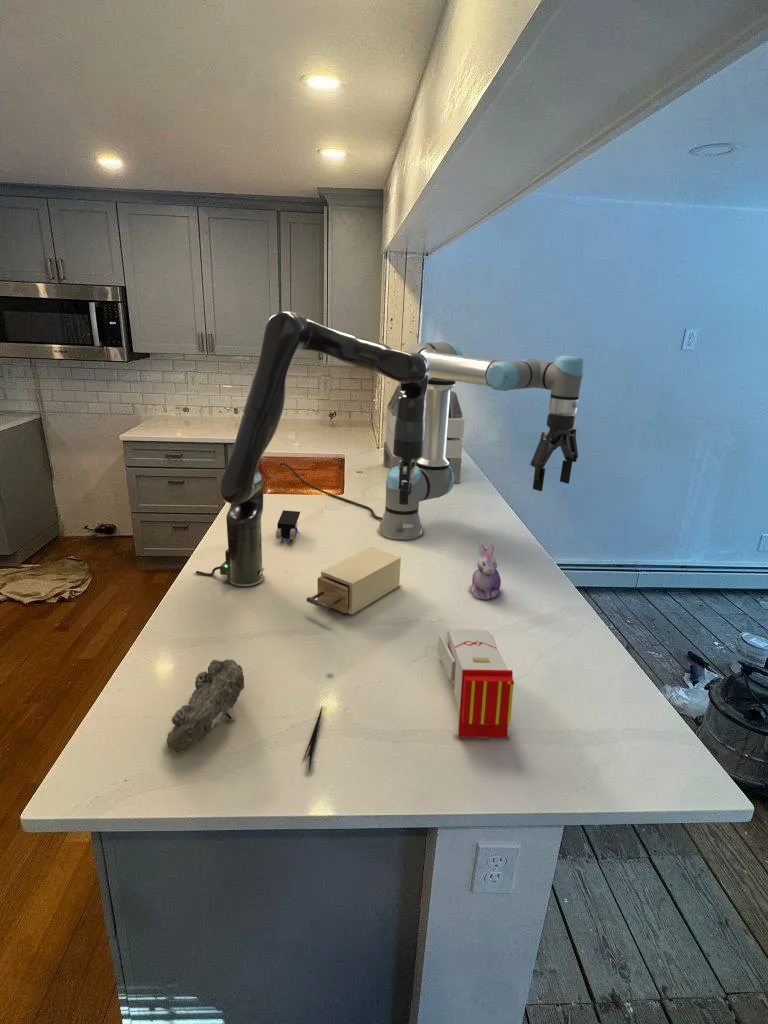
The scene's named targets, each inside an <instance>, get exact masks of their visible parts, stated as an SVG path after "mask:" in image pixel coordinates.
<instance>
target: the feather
mask: <svg viewBox="0 0 768 1024" xmlns="http://www.w3.org/2000/svg"><path fill="white" fill-rule="evenodd" d="M329 675H330V676H331V675H332V674H331V673H330V674H329ZM322 710H323V707H321V708H320V710H319V713H318V716H317V719H316V723H315V725H314V728H313V731H312V733H311V737H310V739H309V742H308V745H307V748H306V751H305V754H304V757H303V760H302V763H301V767H302V765H303V763H304V761H305V758H308V759H309V760H308V762H307V763H308V764H307V766H308V771H310V770H311V766H312V765H311V764H312V760H313V757H315V756H314V755H315V751H316V749H315V746H317V739H318V733H319V729H320V722H321V717H322V712H323V711H322ZM313 754H314V755H313ZM306 755H307V757H306Z"/></svg>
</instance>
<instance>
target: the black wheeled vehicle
mask: <svg viewBox="0 0 768 1024" xmlns="http://www.w3.org/2000/svg"><path fill="white" fill-rule="evenodd" d="M300 515H301V511H296V510H285V509H284V510H283V509H282V512H281V514H280V517H279V518H278V521H277V526H276V532H275V539H276V540H280V544H283V543H284V541H288V542H289V544H292V542H293V540H295V539H296V535H298V534H299V530H298V526H299V524H298V520H299V517H300Z"/></svg>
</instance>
